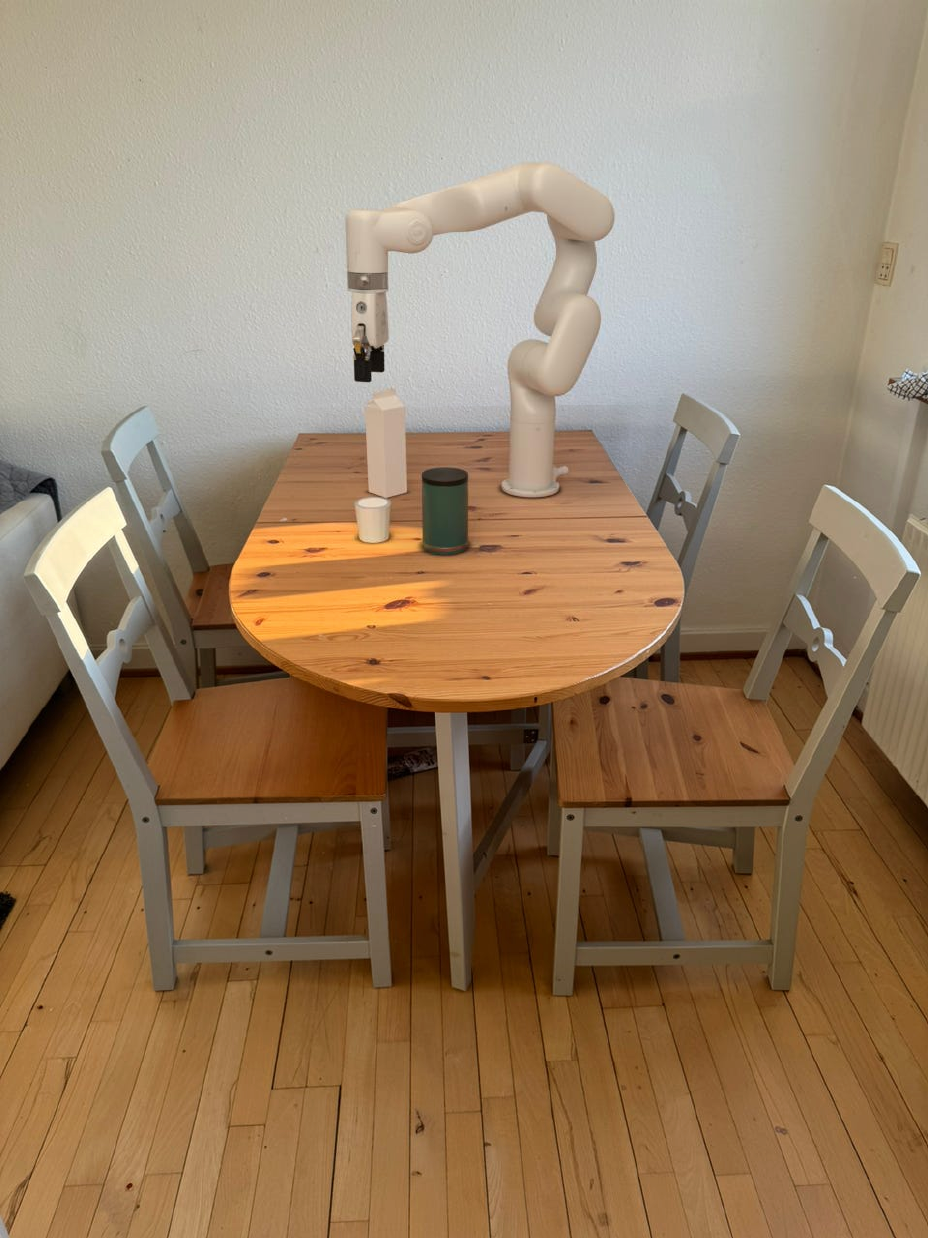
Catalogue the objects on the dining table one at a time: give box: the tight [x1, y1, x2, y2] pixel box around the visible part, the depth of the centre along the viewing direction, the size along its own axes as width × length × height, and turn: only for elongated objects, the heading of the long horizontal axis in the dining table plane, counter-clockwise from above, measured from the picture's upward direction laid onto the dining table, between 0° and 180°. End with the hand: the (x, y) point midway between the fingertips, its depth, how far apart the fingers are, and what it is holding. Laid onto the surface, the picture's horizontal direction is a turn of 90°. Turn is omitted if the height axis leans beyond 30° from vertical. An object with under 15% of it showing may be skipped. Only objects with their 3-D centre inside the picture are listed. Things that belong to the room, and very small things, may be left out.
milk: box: [364, 387, 408, 499], centre depth 199 cm, size 6×6×22 cm
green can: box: [421, 466, 469, 556], centre depth 173 cm, size 8×8×14 cm
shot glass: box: [353, 496, 392, 544], centre depth 178 cm, size 7×7×7 cm
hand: (369, 376), depth 181 cm, fingers open, 9 cm apart
